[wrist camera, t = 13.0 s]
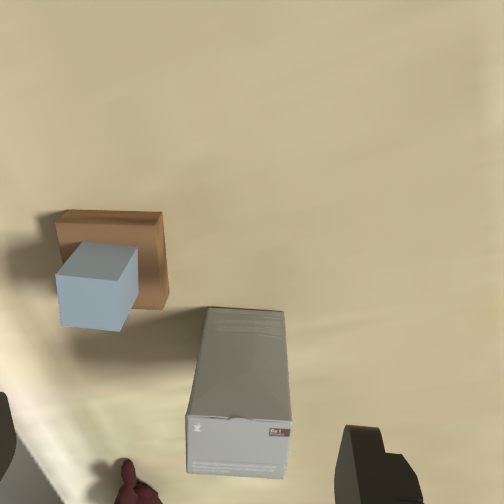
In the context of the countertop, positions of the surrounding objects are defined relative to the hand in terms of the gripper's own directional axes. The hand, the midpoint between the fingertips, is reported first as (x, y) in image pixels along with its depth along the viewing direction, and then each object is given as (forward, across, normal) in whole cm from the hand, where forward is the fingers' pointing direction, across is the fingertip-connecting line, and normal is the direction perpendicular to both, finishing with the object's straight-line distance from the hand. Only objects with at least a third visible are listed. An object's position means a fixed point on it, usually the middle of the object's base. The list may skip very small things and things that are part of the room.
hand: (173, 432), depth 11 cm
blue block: (+30, +12, +14) cm, 35 cm away
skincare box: (+33, -1, +22) cm, 40 cm away
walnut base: (+34, +12, +14) cm, 38 cm away
